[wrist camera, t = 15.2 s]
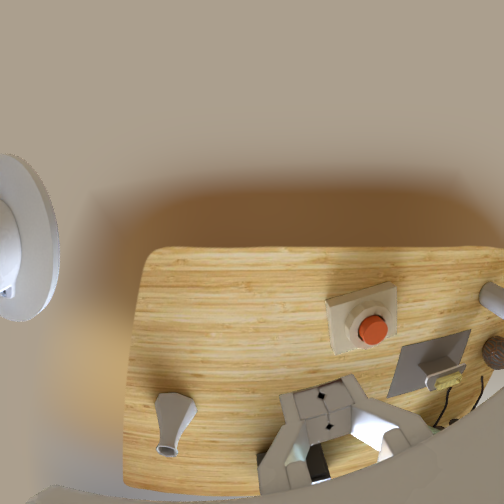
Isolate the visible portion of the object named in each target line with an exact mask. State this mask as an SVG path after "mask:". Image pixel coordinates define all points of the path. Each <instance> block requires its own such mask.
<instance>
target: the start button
mask: <svg viewBox="0 0 504 504" xmlns="http://www.w3.org/2000/svg"><path fill="white" fill-rule="evenodd" d="M387 332H388V327H387V324H386V323H385V322H384V321H383V320H382V319H381V318H380V317H379V316H376V315H373V316H369V317H367V318H366V319H364V320H363V322H362V323H361V325H360V327H359V334H360V336H361V337H362V339H363V340H364V342H365V343H366V344H368V345H376V344H378V343H380V342H381V341H382V340H383V339H384V338H385V337H386V335H387Z"/></svg>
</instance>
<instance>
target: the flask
mask: <svg viewBox="0 0 504 504" xmlns="http://www.w3.org/2000/svg"><path fill="white" fill-rule="evenodd" d="M155 408H156V413H157V417H158V423H159V428H160V442H159V444H158V446H157V447H156V450H157V452H158V453H159V454H161V455H163V456H166V457H176V455H177V454H178V450H177V444H178V441H179V439H180V436H181V434H182V433H183V431H184V430H185V428H186V427H187V426H188V424H189V423H190V422H191V420H192V419H193V417H194V416H195V414H196V413H197V411H198V410H197V408H196V406H195V403H194V401H193V399H191V398H188V397H186V396H183V395H181V394H178V393H159V396H158V398H157V400H156V402H155Z"/></svg>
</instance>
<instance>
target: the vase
mask: <svg viewBox="0 0 504 504" xmlns="http://www.w3.org/2000/svg"><path fill="white" fill-rule="evenodd" d="M483 359H484V361H485V363H486V364H487V365H488V366H489V367H490V368H492V369H495V370H500V369H504V338H503V337H500V336H495V337H492V338H490V339H489V340H488V341H487V342H486V344H485V345H484V347H483Z"/></svg>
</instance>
